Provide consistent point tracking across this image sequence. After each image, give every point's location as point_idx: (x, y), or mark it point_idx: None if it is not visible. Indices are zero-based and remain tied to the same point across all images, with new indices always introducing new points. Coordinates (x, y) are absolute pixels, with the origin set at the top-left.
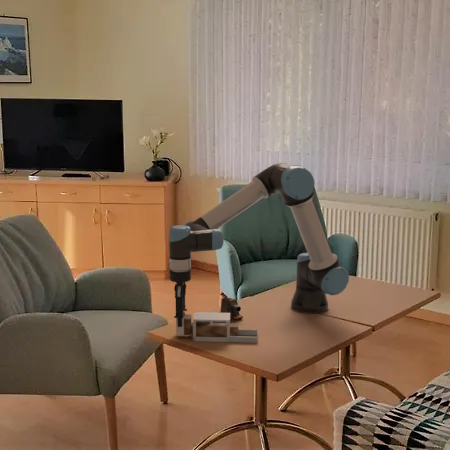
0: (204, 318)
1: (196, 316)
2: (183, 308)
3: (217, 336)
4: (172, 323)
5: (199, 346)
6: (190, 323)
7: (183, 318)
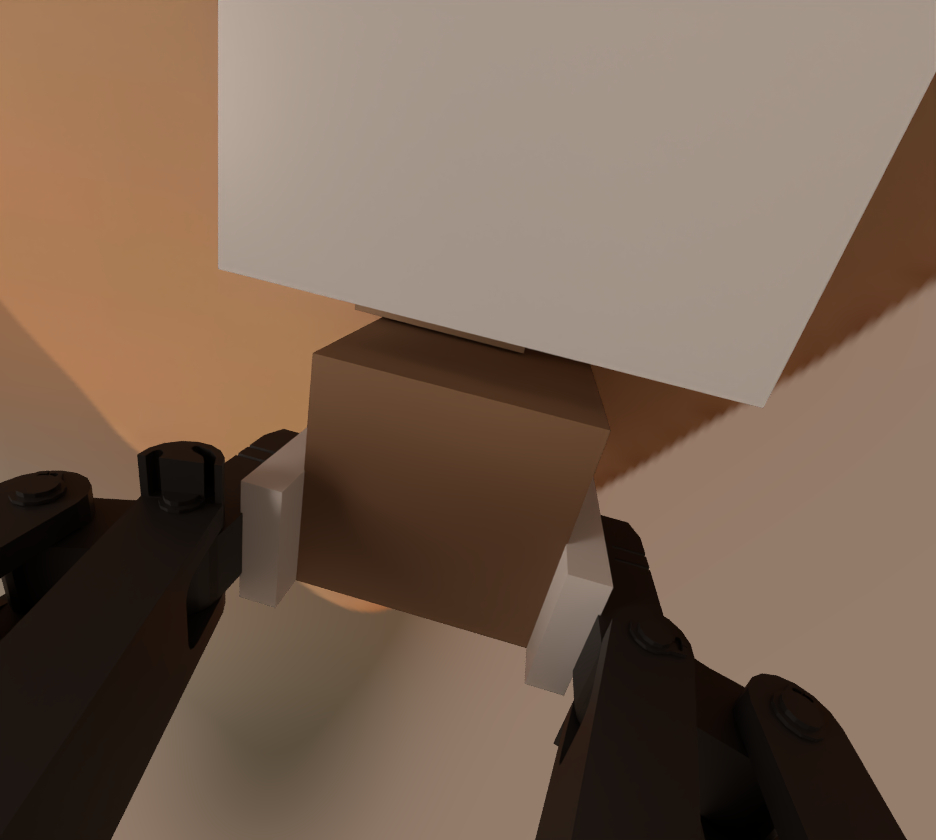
0: (827, 32)
1: (557, 277)
2: (201, 559)
3: None
4: (122, 425)
5: (862, 265)
6: (580, 389)
7: (609, 578)
